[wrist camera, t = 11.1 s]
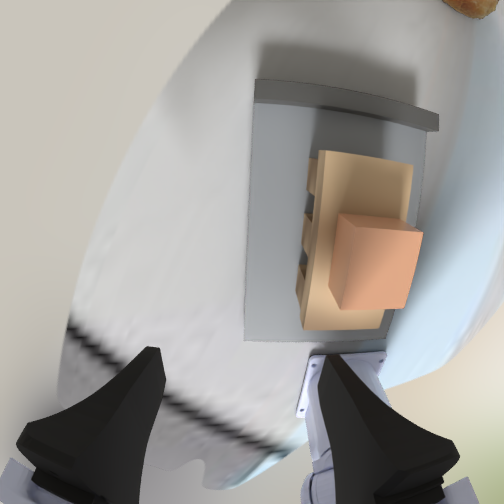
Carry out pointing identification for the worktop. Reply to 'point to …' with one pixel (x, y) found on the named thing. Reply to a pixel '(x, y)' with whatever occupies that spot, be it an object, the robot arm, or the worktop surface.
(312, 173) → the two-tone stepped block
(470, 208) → the worktop surface
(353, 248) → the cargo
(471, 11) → the brown rounded lump
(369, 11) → the worktop surface
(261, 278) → the dock
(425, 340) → the worktop surface
